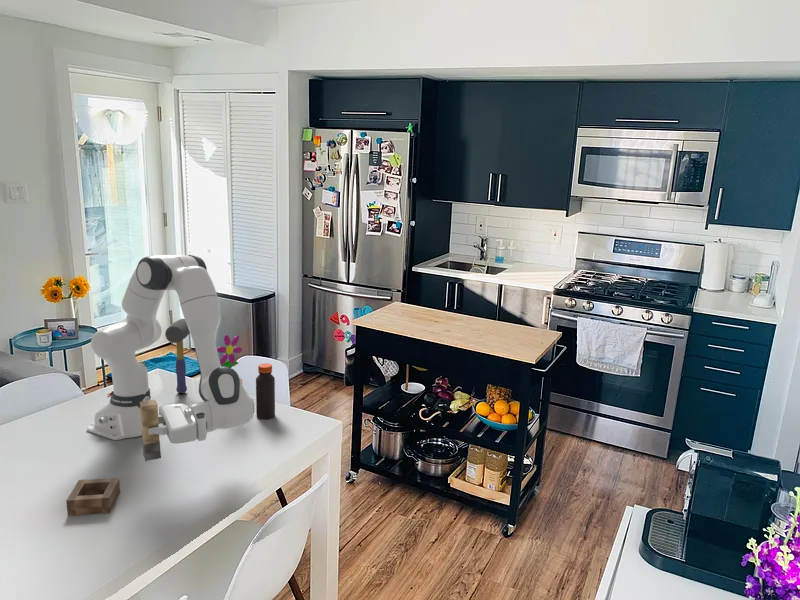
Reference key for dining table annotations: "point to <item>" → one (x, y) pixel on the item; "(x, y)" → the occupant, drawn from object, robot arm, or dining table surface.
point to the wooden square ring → (93, 496)
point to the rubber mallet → (179, 350)
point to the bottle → (265, 392)
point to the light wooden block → (147, 420)
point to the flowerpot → (229, 352)
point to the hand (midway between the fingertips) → (146, 427)
